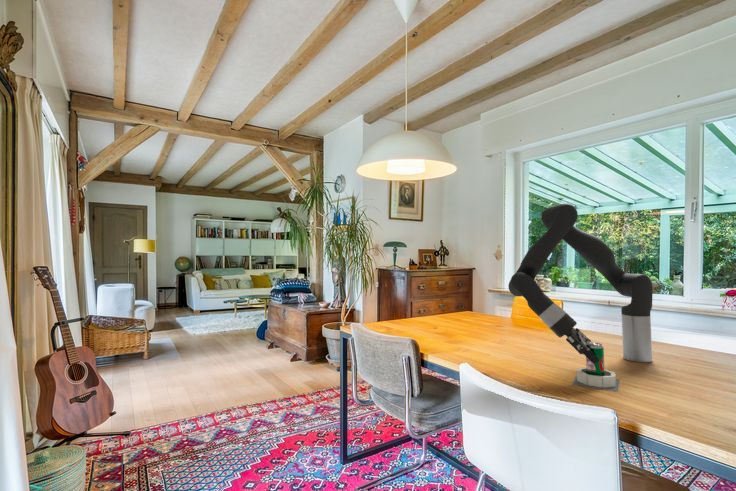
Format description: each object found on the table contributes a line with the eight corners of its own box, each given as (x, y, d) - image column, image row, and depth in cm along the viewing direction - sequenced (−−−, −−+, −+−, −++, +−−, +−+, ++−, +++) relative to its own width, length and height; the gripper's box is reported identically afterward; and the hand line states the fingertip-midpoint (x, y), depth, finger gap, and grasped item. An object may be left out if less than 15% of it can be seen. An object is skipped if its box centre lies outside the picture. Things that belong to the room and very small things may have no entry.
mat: (577, 374, 129) (577, 373, 129) (619, 380, 122) (619, 379, 122) (572, 385, 118) (572, 384, 118) (618, 393, 111) (618, 391, 111)
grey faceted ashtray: (579, 374, 127) (579, 365, 128) (616, 380, 121) (615, 370, 122) (575, 383, 119) (575, 373, 119) (615, 389, 113) (614, 379, 113)
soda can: (582, 379, 123) (581, 342, 123) (597, 378, 123) (596, 341, 124) (593, 384, 118) (592, 345, 118) (608, 383, 118) (607, 345, 118)
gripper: (562, 315, 120) (606, 356, 113) (568, 309, 131) (609, 347, 124) (544, 330, 123) (586, 371, 116) (552, 324, 134) (591, 361, 127)
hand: (598, 358), depth 120 cm, fingers open, 8 cm apart
